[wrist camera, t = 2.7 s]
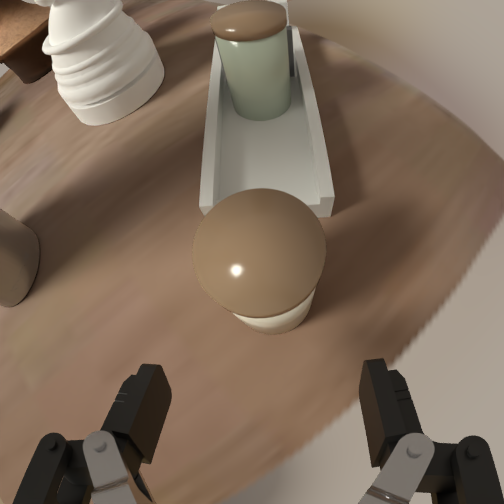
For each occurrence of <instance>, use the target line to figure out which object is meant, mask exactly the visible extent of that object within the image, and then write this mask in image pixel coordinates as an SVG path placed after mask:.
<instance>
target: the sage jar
mask: <svg viewBox="0 0 504 504" xmlns="http://www.w3.org/2000/svg"><path fill="white" fill-rule="evenodd" d="M210 23H211V27H212V31H213V33H214V35H215V37H216V41H217V44H218V48H219V52H220V56H221V60H222V63H223V67H224V71H225V75H226V79H227V83H228V87H229V91H230V95H231V99H232V102H233V106H234V109H235V111H236V112H237V114H238V115H240V116H241V117H243V118H245V119H248V120H253V121H266V120H271V119H274V118H277V117H279V116H281V115H282V114H284V113H285V112H286V111H287V110H288V109H289V107H290V105H291V86H290V70H289V55H288V42H287V30H286V25H287V14H286V9H285V8H284V7H283V6H282V5H280V4H278V3H275V2H272V1H265V0H249V1H242V2H237V3H233V4H230V5H227V6H225V7H223V8H221V9H219V10H217V11H216V12H215V13H214V14H213V15H212V16H211V18H210Z"/></svg>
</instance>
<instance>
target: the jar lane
mask: <svg viewBox="0 0 504 504" xmlns="http://www.w3.org/2000/svg"><path fill="white" fill-rule="evenodd" d="M267 1H272V2H275V3H278V4H280V5H282V6H283V7H284V8H285V9H286V14H287V25H286V26H289V19H288V8H287V7H288V6H287V0H267ZM225 6H227V5H224V6H218V8H217V10H219V9H221V8H223V7H225ZM291 27H292V35H293V52H294V71H295V77H290V86H291V105H290V107H289V109H288V110H287V111H286V112H285V113H284V114H282V115H281V116H279V117H277V118H274V119H271V120H266V121H253V120H248V119H245V118H243V117H241V116H240V115H238V114H237V112H236V111H235V109H234V106H233V102H232V99H231V95H230V91H229V87H228V83H227V82H226V78H225V74H224V71H223V67H222V63H221V59H220V55H219V51H218V48H217V44H216V40H215V44H214V52H213V59H212V68H211V76H210V85H209V94H208V103H207V113H206V123H205V134H204V145H203V157H202V170H201V184H200V199H199V208H200V209H201V211H202V213H203V214H204V216H206V214H207V213H208V212H209V211H210V210H211V209H212V208H213V207H214V206H215V205H216V204H218V203H219V202H220V201H222V200H223V199H225V198H227V197H228V196H230V195H233V194H235V193H237V192H241V191H244V190H249V189H256V188H268V189H275V190H279V191H283V192H286V193H288V194H291V195H293V196H295V197H296V198H298V199H300V200H301V201H302V202H304V203H305V204H306V205H307V206H308V207H309V208H310V209H311V210H312V211H313V212H314V214H315V215H316V216H317V218H320V217H331V212H332V207H333V203H334V198H335V195H334V189H333V183H332V177H331V172H330V166H329V160H328V155H327V150H326V145H325V139H324V134H323V130H322V125H321V120H320V115H319V111H318V106H317V102H316V97H315V93H314V89H313V85H312V81H311V77H310V72H309V69H308V65H307V61H306V57H305V53H304V49H303V46H302V42H301V39H300V35H299V32H298V28H297V26H291Z"/></svg>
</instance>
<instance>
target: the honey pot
mask: <svg viewBox="0 0 504 504" xmlns="http://www.w3.org/2000/svg"><path fill="white" fill-rule="evenodd" d="M34 1H35V2H36V3H37V4H38V5H40V6H43V7H47V6H50V5H52V6H51V9H50V14H49V26H48V29H49V35H48V36H47V37H46V39H45V41H44V43H43V46H42V51H43V52H44V53H45V54H46V55H51V57H52V69H53V71H54V72H55V79H56V81H57V82H58V91H59V94H60V95H61V97H62V98H63V99H64V100H65V102H66V103H67V104H68V106H69V107H70V108H71V110H72V111H73V112H74V113H75V115H76V116H77V117H78V119H79V120H80V121H81V122H82V123H84V124H87V125H95V126H98V125H103V124H108V123H111V122H114V121H116V120H119V119H121V118H123V117H125V116H127V115H128V114H130V113H132V112H134V111H135V110H136V109H138V108H139V107H140V106H142V105H143V104H144V103H146V102H147V101H148V100H149V99H150V98H151V97H152V96H153V95H154V94H155V92H156V91H157V89H158V88H159V87H160V85H161V83H162V81H163V78H164V67H163V64H162V62H161V59H160V57H159V55H158V52H157V50H156V48H155V45H154V44H153V40H152V39H151V37H150V36H149V34H148V33H147V32H145V31H143V30H142V29H141V27H140V26H139V25H138V24H136V23H135V21H134V20H133V18H132V17H130V16H127V15H126V14H125V13H124V12H123V11H122V7H123V3H122V1H121V0H34Z"/></svg>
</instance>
